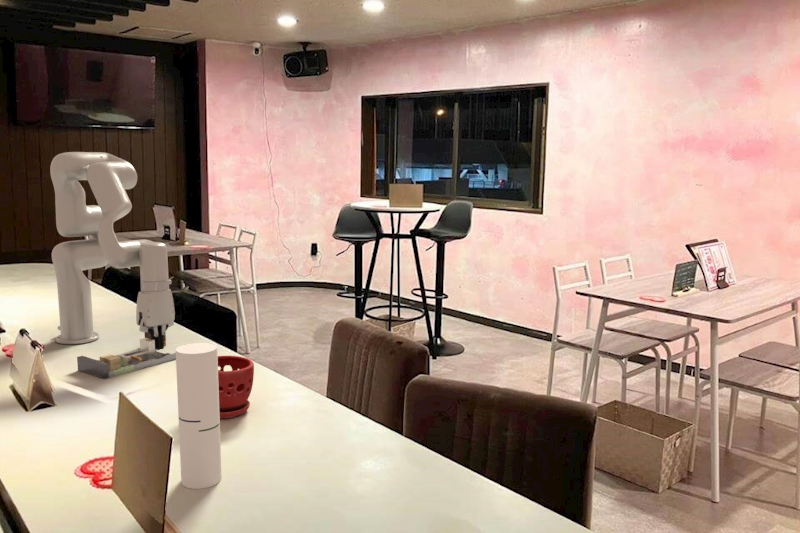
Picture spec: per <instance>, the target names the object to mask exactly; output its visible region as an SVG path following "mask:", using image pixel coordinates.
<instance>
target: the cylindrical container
mask: <svg viewBox="0 0 800 533" xmlns="http://www.w3.org/2000/svg"><path fill="white" fill-rule="evenodd" d="M175 353H176V359H175V364H176V365H175V366H176V367H175V368H176V387H177V388H176V389H177V409H178V413H177V414H178V433H179V435H178V436H179V456H180V457H179V458H180V459H179V460H180V483H181V485H182V486H183V487H185V488H186V489H187V488H188V489H192V490H202V489H207V488H210V487H214V486H216V485H217V484H219V483H220V482H221V480H222V478H223V477H222V476H223V475H222V457H221V456H222V455H221V453H222V451H221V450H222V448H221V446H222V445H221V421H220V420H221V418H220V414H219V384H218V370H219V367H218V356H219V355H218V346H217V345H216V344H214V343H210V342H195V343H188V344H183V345H180V346H177V347H176V348H175Z"/></svg>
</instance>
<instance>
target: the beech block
mask: <svg viewBox="0 0 800 533" xmlns="http://www.w3.org/2000/svg"><path fill="white" fill-rule="evenodd" d="M99 360H100V361H101V362H105V363H108V368H109V371H110V370H113V369H117V368H121V359H120V357H118V356H116V355H114V354H111V353H110V354H105V355H100V356H99Z"/></svg>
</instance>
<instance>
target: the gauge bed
mask: <svg viewBox="0 0 800 533" xmlns="http://www.w3.org/2000/svg"><path fill="white" fill-rule="evenodd" d="M138 353H140V349H137V350H133V351H129V352H125V353H120V354H121V355H125V356H130V355H134V354H138ZM117 355H118V354H117ZM117 355H115V356H117ZM76 360H77V361H76V362H77V372H80V373H84V374H87V375H89V376H93V377H96V378H99V379H102V380H106V379H111V378H113V377H117V376H120V375H121V376H122V375H124V374H127V373H130V372H135V371H138V370H141V369H145V368H146V369H147V368H149V367H152V366H156V365H160V364H163V363H166V362H167V363H168V362H170V361H171V362H172V361H174V360H175V361H176V352H173V353H169V352H166V353H163V352H159V351H158V350H156V349H155V358H154V359H151V360H143V361H139V362H135V363H132V365H128V366H124V365H121V368H117V369H113V370H110V371H109V368H108V363H105V362H101V361H100V359H94V358H91V357H87V356H84V355H81V356H80V355H79V356H77V357H76Z"/></svg>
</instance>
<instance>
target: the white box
mask: <svg viewBox="0 0 800 533" xmlns="http://www.w3.org/2000/svg"><path fill="white" fill-rule="evenodd" d="M139 347H140V349H139V350H140V353H138V354H134V355H130V356H125V355H121V354H122V353H120V354H117V356H118V357H120V359H121V365H124V366H128V365H132V363H135V362H139V361H143V360H151V359H154V358H155V340H153V339H149V338H145V337H144V338H139Z"/></svg>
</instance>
